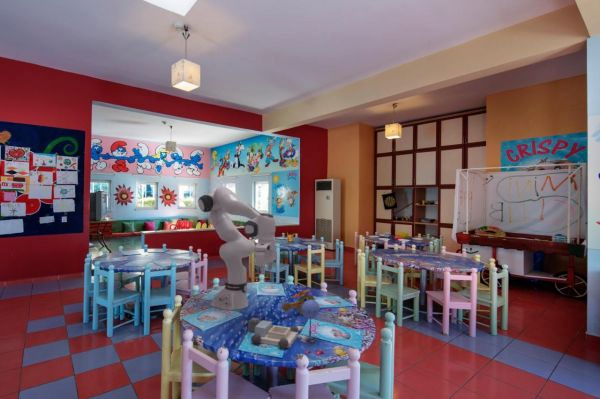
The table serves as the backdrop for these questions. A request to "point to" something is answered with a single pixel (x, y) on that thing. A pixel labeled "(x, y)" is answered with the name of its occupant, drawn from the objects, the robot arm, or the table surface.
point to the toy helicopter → (299, 303)
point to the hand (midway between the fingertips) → (266, 272)
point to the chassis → (274, 335)
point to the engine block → (253, 324)
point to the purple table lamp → (310, 311)
